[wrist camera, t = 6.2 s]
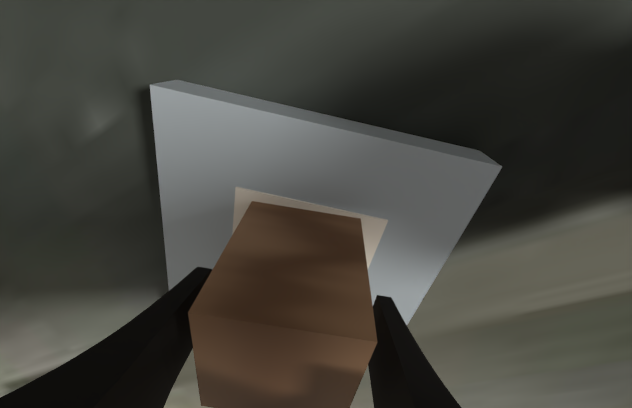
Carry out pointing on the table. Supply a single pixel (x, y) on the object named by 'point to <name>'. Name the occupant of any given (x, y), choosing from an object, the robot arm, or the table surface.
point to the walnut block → (285, 313)
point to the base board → (310, 182)
